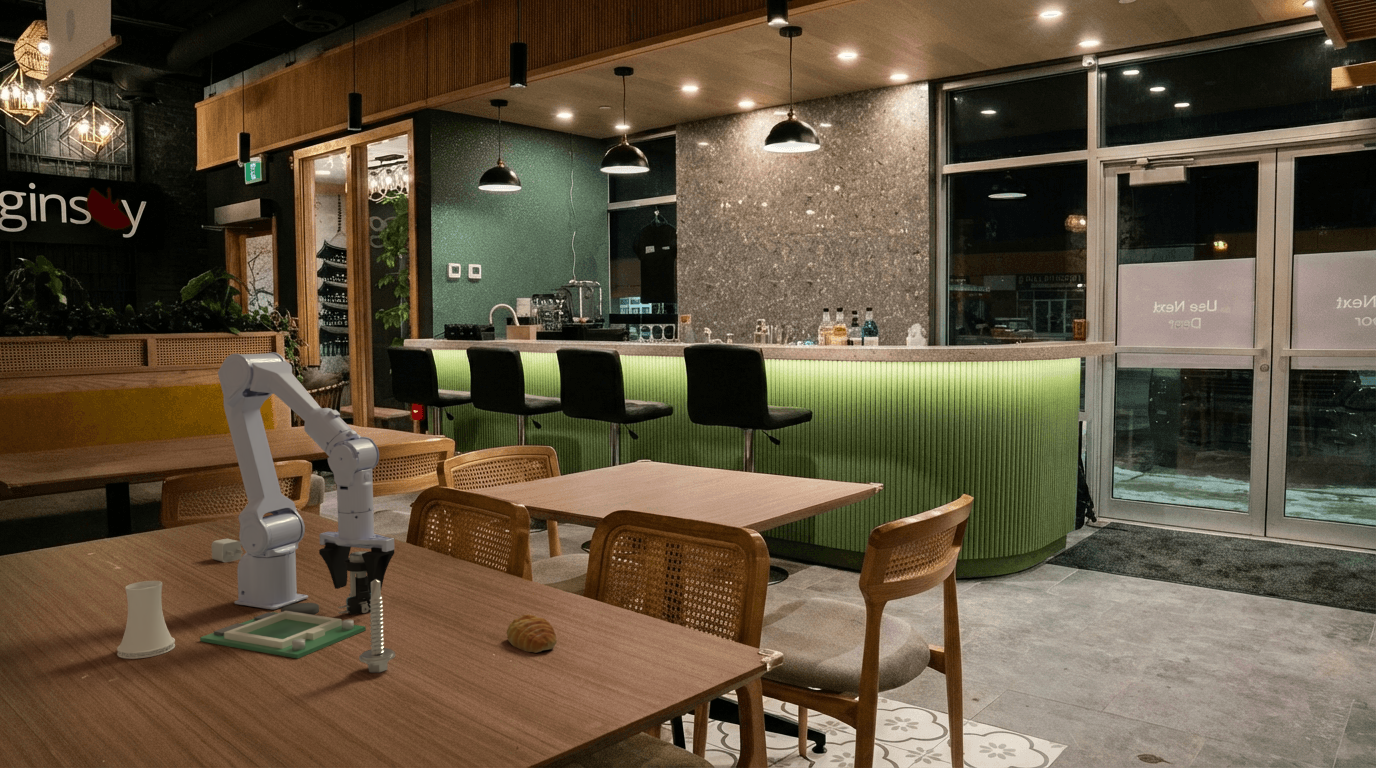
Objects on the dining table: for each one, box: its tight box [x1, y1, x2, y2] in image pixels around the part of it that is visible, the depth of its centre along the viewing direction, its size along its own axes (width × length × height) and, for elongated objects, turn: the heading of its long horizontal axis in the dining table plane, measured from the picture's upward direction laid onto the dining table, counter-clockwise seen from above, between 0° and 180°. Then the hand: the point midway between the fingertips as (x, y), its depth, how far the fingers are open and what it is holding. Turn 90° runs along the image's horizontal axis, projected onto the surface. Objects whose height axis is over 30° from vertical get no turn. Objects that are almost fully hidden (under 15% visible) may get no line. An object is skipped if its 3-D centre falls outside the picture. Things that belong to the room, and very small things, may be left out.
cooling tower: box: [116, 580, 176, 660], centre depth 141 cm, size 8×8×10 cm
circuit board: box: [199, 611, 367, 659], centre depth 147 cm, size 20×14×2 cm
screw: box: [358, 579, 396, 674], centre depth 132 cm, size 13×5×5 cm
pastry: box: [506, 614, 557, 654], centre depth 143 cm, size 9×7×4 cm
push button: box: [337, 550, 371, 616], centre depth 159 cm, size 7×5×10 cm
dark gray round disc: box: [280, 602, 320, 615], centre depth 159 cm, size 6×6×1 cm
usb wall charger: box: [211, 538, 245, 563], centre depth 196 cm, size 4×7×4 cm, turn 54°
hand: (357, 589), depth 159 cm, fingers open, 7 cm apart
